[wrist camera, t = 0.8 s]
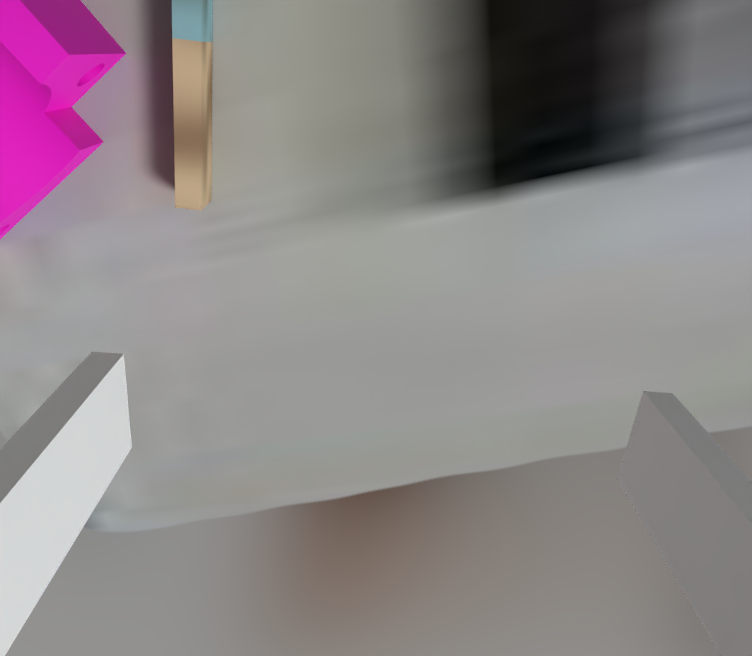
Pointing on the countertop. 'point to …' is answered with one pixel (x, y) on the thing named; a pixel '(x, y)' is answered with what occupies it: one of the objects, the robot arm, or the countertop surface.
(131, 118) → the countertop surface
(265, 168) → the countertop surface
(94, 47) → the toy block
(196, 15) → the rack bay
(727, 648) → the robot arm
